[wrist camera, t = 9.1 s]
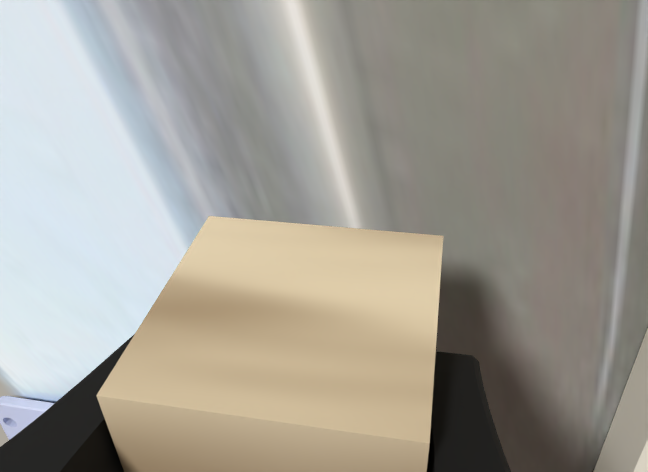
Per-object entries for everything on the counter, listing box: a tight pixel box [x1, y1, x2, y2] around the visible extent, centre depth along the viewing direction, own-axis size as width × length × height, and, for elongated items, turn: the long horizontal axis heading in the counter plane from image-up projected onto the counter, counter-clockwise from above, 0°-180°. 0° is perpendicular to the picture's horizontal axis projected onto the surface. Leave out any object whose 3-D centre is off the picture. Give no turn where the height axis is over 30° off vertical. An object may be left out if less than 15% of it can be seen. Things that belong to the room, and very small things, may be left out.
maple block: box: [96, 216, 443, 472], centre depth 10 cm, size 4×4×4 cm
